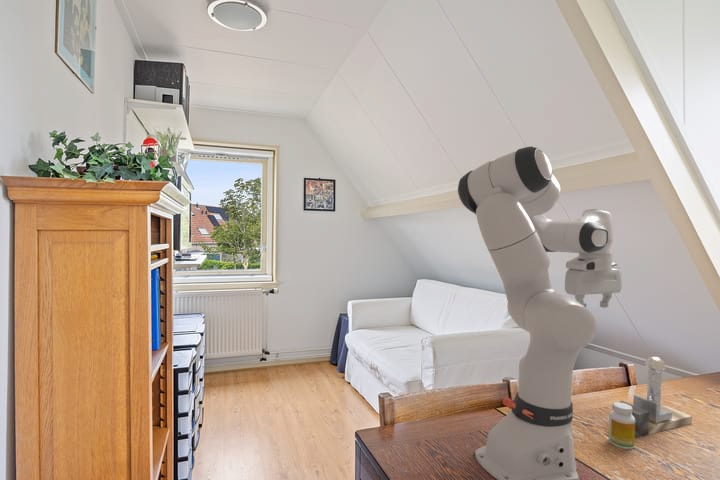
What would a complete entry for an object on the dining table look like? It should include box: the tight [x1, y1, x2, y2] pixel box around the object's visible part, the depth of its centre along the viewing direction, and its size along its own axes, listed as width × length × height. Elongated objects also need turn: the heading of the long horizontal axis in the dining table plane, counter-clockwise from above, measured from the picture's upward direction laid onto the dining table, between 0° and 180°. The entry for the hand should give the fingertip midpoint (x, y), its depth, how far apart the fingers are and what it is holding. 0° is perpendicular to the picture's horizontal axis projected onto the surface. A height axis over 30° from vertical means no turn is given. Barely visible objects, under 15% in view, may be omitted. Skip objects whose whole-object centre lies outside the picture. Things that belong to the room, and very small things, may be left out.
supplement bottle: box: [608, 401, 636, 450], centre depth 99 cm, size 5×5×10 cm
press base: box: [612, 400, 693, 438], centre depth 109 cm, size 22×7×6 cm, turn 111°
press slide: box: [632, 355, 672, 423], centre depth 109 cm, size 7×6×16 cm
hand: (593, 308), depth 122 cm, fingers open, 8 cm apart
